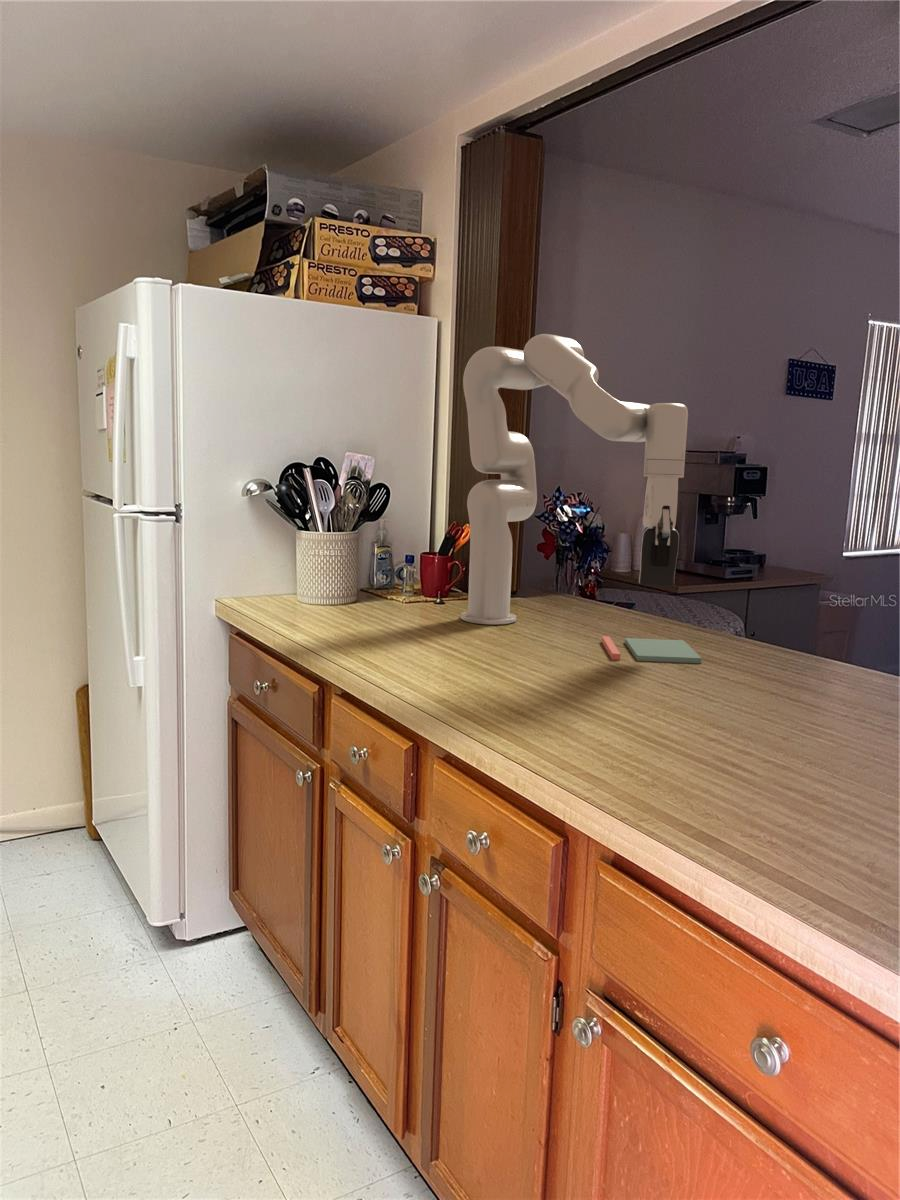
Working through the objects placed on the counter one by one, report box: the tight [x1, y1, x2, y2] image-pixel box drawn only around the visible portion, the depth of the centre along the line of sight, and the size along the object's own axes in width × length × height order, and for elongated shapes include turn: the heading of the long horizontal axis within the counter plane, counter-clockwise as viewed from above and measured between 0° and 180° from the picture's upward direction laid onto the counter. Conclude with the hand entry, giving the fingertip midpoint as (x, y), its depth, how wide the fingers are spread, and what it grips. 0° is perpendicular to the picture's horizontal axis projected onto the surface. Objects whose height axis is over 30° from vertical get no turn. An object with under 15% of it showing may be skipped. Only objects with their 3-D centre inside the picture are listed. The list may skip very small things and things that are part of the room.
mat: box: [624, 637, 703, 664], centre depth 181 cm, size 16×12×1 cm
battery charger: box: [638, 526, 680, 587], centre depth 178 cm, size 7×4×11 cm, turn 85°
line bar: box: [601, 635, 621, 661], centre depth 181 cm, size 16×2×1 cm, turn 178°
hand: (657, 563), depth 178 cm, fingers closed on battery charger, 4 cm apart
